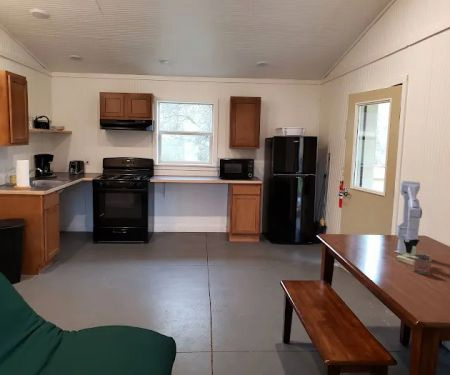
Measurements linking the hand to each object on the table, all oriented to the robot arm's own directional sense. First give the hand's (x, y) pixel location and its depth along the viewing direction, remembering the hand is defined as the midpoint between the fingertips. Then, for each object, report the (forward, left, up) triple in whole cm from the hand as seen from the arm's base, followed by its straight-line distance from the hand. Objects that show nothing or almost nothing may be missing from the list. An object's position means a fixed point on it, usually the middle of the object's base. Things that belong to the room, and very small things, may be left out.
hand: (410, 252), depth 219 cm
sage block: (0, 0, -1) cm, 1 cm away
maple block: (0, 0, -6) cm, 6 cm away
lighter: (+12, +14, -6) cm, 19 cm away
